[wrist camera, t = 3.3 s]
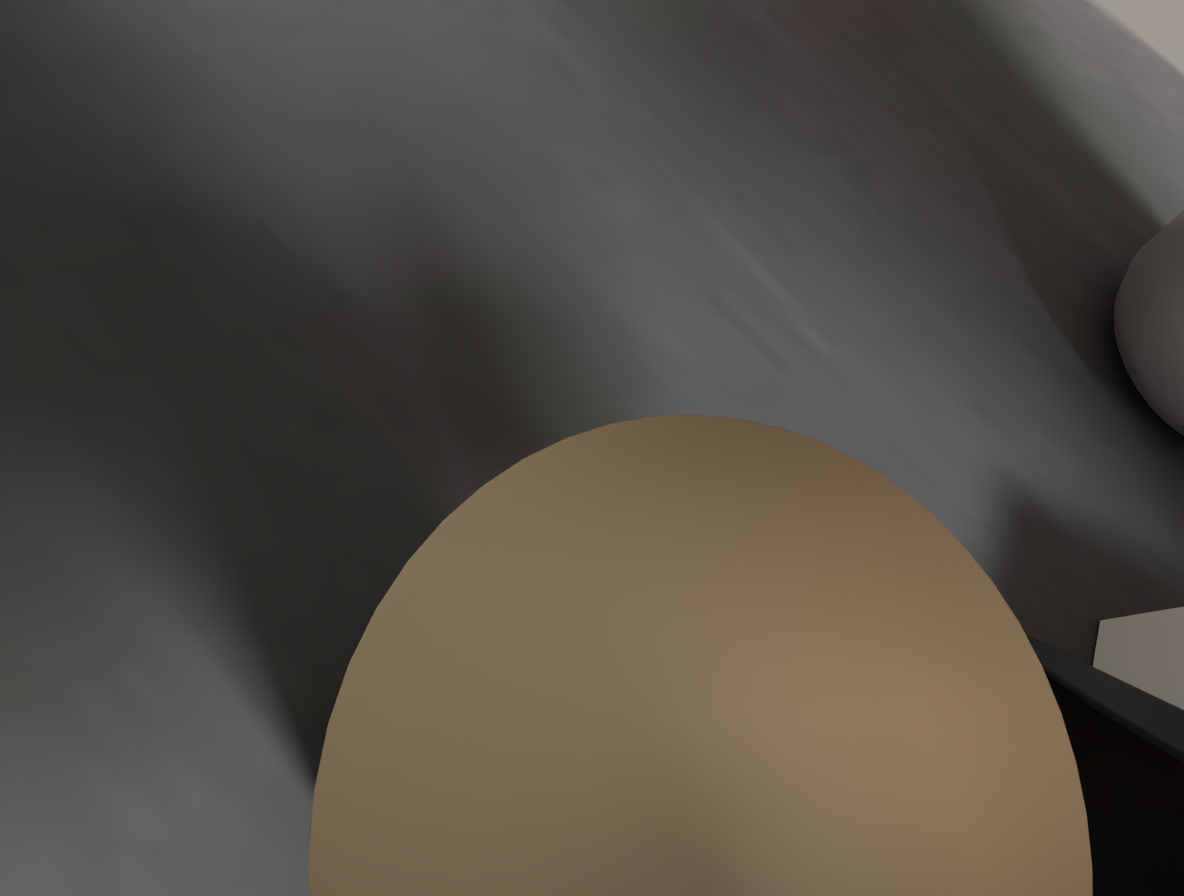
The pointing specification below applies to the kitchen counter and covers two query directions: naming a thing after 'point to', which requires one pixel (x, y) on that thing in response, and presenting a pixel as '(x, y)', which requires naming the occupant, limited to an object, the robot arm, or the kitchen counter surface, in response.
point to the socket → (1145, 652)
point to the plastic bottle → (1155, 322)
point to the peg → (695, 691)
